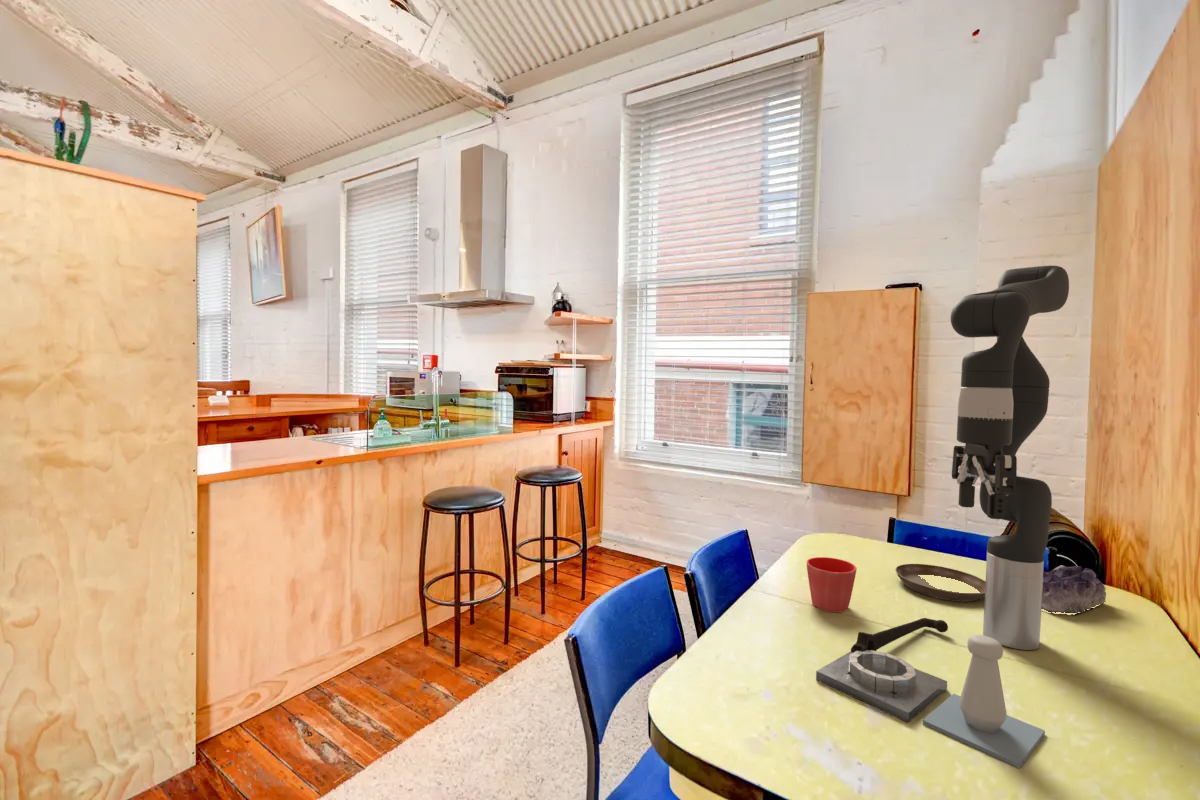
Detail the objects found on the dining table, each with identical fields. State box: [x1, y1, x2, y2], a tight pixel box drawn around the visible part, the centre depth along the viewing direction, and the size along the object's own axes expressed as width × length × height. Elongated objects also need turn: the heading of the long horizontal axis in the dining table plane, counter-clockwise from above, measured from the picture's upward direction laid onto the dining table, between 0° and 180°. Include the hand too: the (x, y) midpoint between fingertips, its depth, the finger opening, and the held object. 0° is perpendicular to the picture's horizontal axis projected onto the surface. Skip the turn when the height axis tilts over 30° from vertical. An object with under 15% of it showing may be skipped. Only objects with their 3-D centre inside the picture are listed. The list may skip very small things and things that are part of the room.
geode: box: [1042, 564, 1107, 613], centre depth 132 cm, size 20×12×10 cm, turn 123°
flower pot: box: [806, 556, 857, 613], centre depth 128 cm, size 11×11×10 cm
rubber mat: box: [922, 693, 1046, 769], centre depth 83 cm, size 12×12×1 cm
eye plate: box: [815, 650, 948, 723], centre depth 95 cm, size 15×15×4 cm
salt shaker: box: [959, 634, 1008, 734], centre depth 83 cm, size 6×6×13 cm
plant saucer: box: [895, 563, 986, 602], centre depth 141 cm, size 21×21×3 cm
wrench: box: [850, 617, 949, 653], centre depth 107 cm, size 5×5×30 cm
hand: (980, 512), depth 93 cm, fingers open, 8 cm apart
